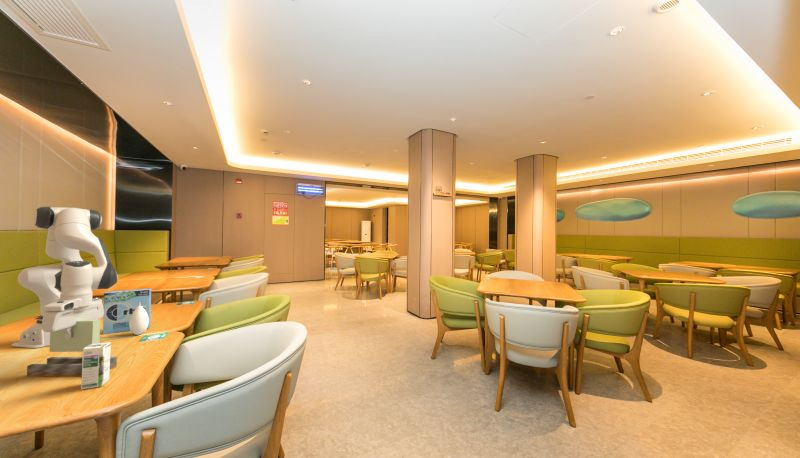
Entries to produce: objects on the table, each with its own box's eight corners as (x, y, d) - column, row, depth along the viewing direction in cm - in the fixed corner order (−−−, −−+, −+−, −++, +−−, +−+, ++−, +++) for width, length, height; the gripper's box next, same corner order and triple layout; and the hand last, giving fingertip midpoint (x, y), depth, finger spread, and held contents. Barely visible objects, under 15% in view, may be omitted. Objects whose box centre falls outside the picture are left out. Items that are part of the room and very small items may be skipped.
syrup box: (80, 390, 102) (81, 348, 103) (89, 382, 108) (91, 343, 108) (101, 387, 104) (103, 346, 105) (110, 379, 110) (111, 341, 110)
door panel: (49, 351, 114) (50, 321, 115) (57, 348, 117) (59, 319, 118) (91, 351, 115) (93, 321, 115) (99, 348, 118) (100, 319, 118)
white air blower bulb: (139, 331, 163) (141, 299, 163) (151, 332, 162) (153, 300, 162) (124, 336, 155) (126, 302, 156) (137, 337, 154) (138, 303, 154)
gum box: (150, 326, 172) (151, 288, 173) (148, 328, 168) (150, 289, 169) (104, 332, 162) (106, 291, 162) (102, 334, 157) (103, 292, 158)
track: (26, 376, 111) (27, 365, 112) (50, 366, 119) (51, 357, 119) (97, 375, 113) (97, 365, 113) (116, 366, 121) (116, 356, 121)
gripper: (94, 296, 127) (92, 328, 127) (38, 307, 107) (36, 345, 106) (109, 296, 127) (108, 327, 127) (56, 307, 107) (54, 345, 106)
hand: (75, 336), depth 116 cm, fingers closed on door panel, 3 cm apart
